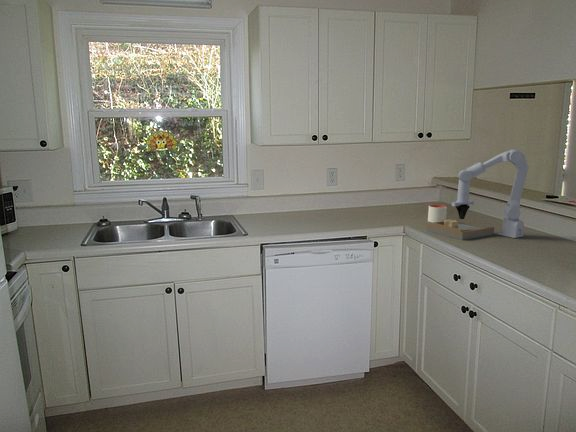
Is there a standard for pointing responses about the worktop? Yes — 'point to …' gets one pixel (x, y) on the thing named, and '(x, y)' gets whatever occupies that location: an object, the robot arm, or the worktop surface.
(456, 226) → the block
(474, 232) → the trap board
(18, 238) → the worktop surface
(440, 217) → the cup
